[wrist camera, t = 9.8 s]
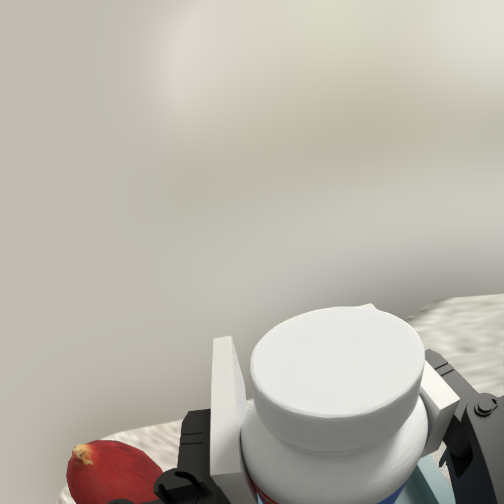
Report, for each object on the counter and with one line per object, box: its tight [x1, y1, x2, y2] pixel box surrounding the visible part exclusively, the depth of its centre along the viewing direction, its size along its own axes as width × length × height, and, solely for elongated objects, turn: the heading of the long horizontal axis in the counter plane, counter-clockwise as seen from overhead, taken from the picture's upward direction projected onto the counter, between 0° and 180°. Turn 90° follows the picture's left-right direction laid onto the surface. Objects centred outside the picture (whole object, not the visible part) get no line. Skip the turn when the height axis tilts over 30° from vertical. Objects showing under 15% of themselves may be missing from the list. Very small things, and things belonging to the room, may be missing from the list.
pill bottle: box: [241, 307, 428, 504], centre depth 7 cm, size 6×5×10 cm
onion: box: [66, 440, 163, 504], centre depth 10 cm, size 6×6×8 cm
